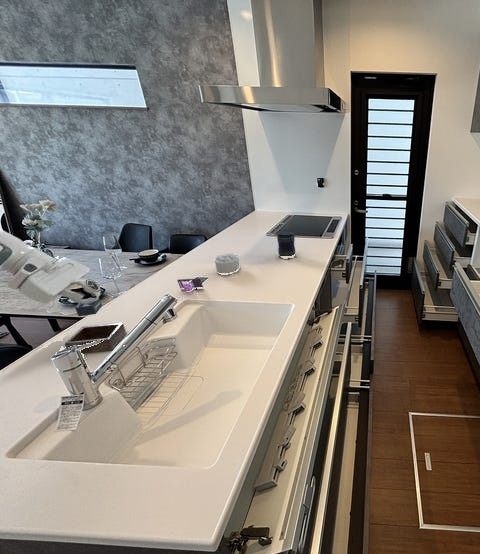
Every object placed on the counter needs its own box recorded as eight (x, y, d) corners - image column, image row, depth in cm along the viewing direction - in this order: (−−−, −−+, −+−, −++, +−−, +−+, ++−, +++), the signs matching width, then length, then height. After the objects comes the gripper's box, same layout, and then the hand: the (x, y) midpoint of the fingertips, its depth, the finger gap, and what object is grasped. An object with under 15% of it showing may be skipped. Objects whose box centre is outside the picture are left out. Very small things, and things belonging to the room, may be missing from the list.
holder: (69, 354, 94) (64, 343, 93) (86, 337, 103) (82, 326, 101) (112, 350, 97) (108, 339, 96) (126, 333, 106) (123, 323, 104)
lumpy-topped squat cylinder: (241, 266, 165) (239, 251, 161) (235, 276, 153) (233, 260, 149) (221, 267, 163) (218, 251, 159) (213, 276, 151) (210, 260, 148)
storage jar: (284, 252, 188) (282, 229, 182) (298, 255, 185) (297, 231, 179) (275, 257, 179) (273, 233, 173) (289, 260, 176) (288, 235, 170)
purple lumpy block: (200, 277, 135) (177, 278, 133) (198, 285, 131) (174, 286, 129) (204, 287, 139) (182, 289, 137) (202, 295, 136) (179, 297, 133)
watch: (103, 313, 97) (92, 282, 92) (71, 317, 94) (57, 285, 89) (109, 304, 101) (99, 274, 97) (79, 308, 99) (66, 277, 94)
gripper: (53, 262, 99) (98, 286, 105) (2, 289, 81) (60, 317, 87) (65, 248, 98) (109, 274, 104) (16, 273, 80) (74, 302, 86)
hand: (87, 294), depth 95 cm, fingers closed on watch, 4 cm apart
